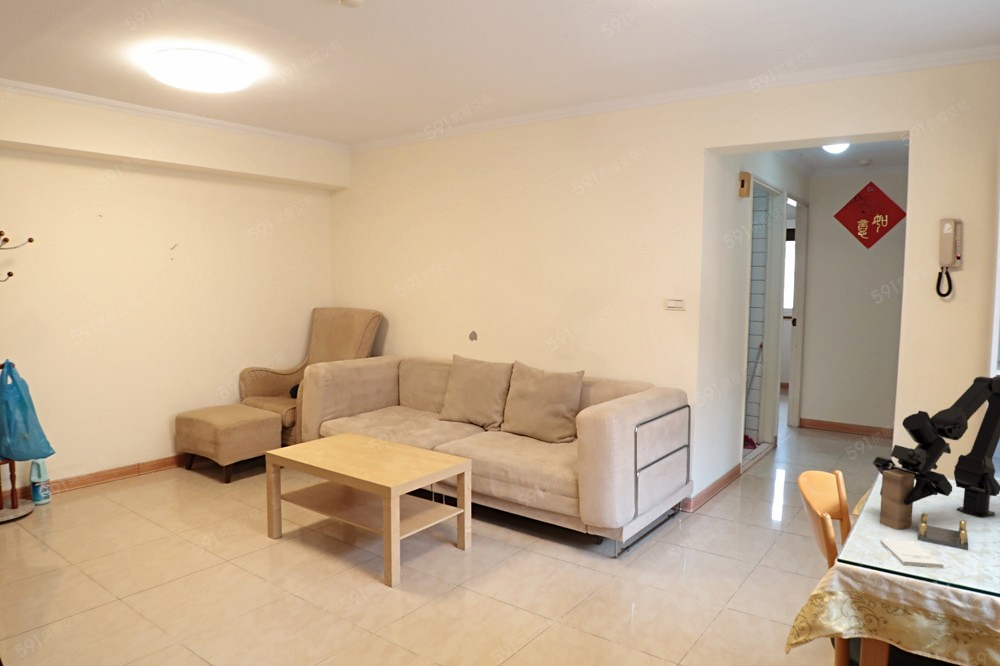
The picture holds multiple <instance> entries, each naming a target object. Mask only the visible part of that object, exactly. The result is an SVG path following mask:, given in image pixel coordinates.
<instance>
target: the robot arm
mask: <svg viewBox="0 0 1000 666" xmlns="http://www.w3.org/2000/svg"><path fill="white" fill-rule="evenodd" d="M986 402H987V408H986V410H985V413H984V416H983V418H982V420H981V423H980V426H979V429H978V431H977V433H976V434H977V435H976V436H975V439H974V442H973V444H972V448H971V449H970V452H968V453H966V454H965V455H964V454H960V455H959V457H957V458H958V459H957V462H956V465H955V466H954V471H953V476H954V483H955V485H956V487H957V488H961V489H964V491H963V493H964V494H963V501H962V502H963V503H962V506H960V507H957V508H956V510H957V511H959V512H963V513H966V514H969V515H973V516H976V517H979V518H984V517H989V516H993V515H996V512H995V511H993V510H992V511H991V510H990V502H991V501H990V499H991V497H998V496H997V495H999V494H1000V484H999V482H998V481H997V480H996V478H995V474H996V468H995V465H994V462H993V458H994V454H995V453H996V449H997V447H998V444H999V442H1000V376H994V377H987V376H982V375H981V376H977V377H975V378H974V379H973V382H972V384H971V385H970V386H969V387H968V389H966V390H965V391H964V392H963V394H961V396H960V397H959V398H957V400H956V401H955V402H954V403H953V404H952V405H951V406H950V407H948V408H945V409H941V410H939V411H938V412H937V413H935V414H933V416H931V417H930V415H929V413H928V411H922V410H919V411H918V412H917V413H913V414H909V415H908V416H906V417H905V418H904V419H903V420H902V426H903V428H904V429H905V431H906V432H907V434H908V435H909V436H910V438H911V439H912V440H913V442H914V443H916V446H915V448H908V447H905V446H901V445H898V444H894V446H893V449H892V451H891V453H890V456H891V458H892V457H893V458H895V459H897V463H898V464H899V465H901V466H897V465H896V463H895V462H894V461H893V460H892V459H891V458H887V457H883V456H876V457H875V459H874V460H873V462H872V465H874V467H875V468H876V470H877V471H878V472H879V473H880V475H881V476H883V471H886V470H894V469H898V470H901V471H904V472H908V473H911V474H914V475H915V478H914V481H915V483H914V487H913V489H912V490H911V492H910V493H909V494H908V496H907V497H906V499H905V501H904V504H905V505H909V504H911V503H913V504H914V503H915V502H918V501H920V500H922V499H925V498H928V497H931V496H937V495H938V494H939V495H943V496H946V497H949V496H950V494H951V493H952V492H953V485H952V484H951V483H950V481H949V480H948V478H947V477H946V476H945V474H942V473H939V472H935V471H932V470H937V468H938V466H939V465H937V463H938V461H939V459H940V458H941V457H942V456H943V454H944V453H945V454H949V455H950V454H951V453H952V450H951V447H950V443H949V442H946V440H952V441H959V440H960V439H961V438H962V437H963V436H964V434H966V431H967V430H968V429H969V425H968V424H969V422H968V421H969V420H970V419H971V417H972V416H973V415H974V414H975V413H976V412H977V411H978V410H979V409H980V408H981V407H982V406H983V405H984V404H985V403H986ZM945 439H946V440H945ZM881 493H882V486H881V488H880V493H879V495H880V496H881Z"/></svg>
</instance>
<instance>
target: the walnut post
mask: <svg viewBox="0 0 1000 666" xmlns="http://www.w3.org/2000/svg"><path fill="white" fill-rule="evenodd" d="M881 476H882V479H881V480H882V482H881V487H882V493H881V495H880V511H879V512H880V513H879V524H882V525H884V526H885V527H889V528H892V529H894V530H897V531H899V530H905V529H910V528H912V520H913V508H914V507H913V505H914V502H913V503H911V504H909V505H905V504H904V501H905V499H906V497H907V496H908V494H909V493H910V492H911V490H912V489H913V487H914V486H915V479H914V478H915V475H914V474H911V473H908V472H904V471H901V470H898V469H894V470H886V471H883V475H881Z"/></svg>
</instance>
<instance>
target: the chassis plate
mask: <svg viewBox="0 0 1000 666" xmlns="http://www.w3.org/2000/svg"><path fill="white" fill-rule="evenodd" d="M928 516H929V515H928V514H927V513H921V514H920V523H919V524H918V531H917V539H916V540H917V541H921V542H925V543H927V542H928V543H931V542H932V544H936V545H941V546H947V547H951V548H957V549H961V550H965V551H968V550H969V540H968V531H967V521H966V520H959V523H958V524H959V525H958V530H955V529H948V528H943V527H938V526H934V525H928V521H929V520H928Z"/></svg>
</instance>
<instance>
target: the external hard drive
mask: <svg viewBox="0 0 1000 666" xmlns="http://www.w3.org/2000/svg"><path fill="white" fill-rule="evenodd" d="M879 541H880V542H879V544H880V543H881V544H882V545H883V546H884V547H883V546H882V545H881V544H880V545H881V546H882V547H883V548H884V549H886V550H887V549H888V550H889V551H890V552H891V553H892V554H893V555H894V556H895V557H896V558H897V559H898V560H899V561H900V562H901V563H900V562H899V561H898V560H897V559H896V558H895V557H894V556H893V555H892V554H891V553H890V552H889V551H888V550H887V551H888V552H889V553H890V554H891V555H892V556H893V557H894V558H895V559H896V560H897V561H898V562H899V563H900V564H902V565H903V566H907V565H914V566H913V567H919V566H920V567H924V566H926V567H925V568H932V567H940V568H939V569H944V564H943V563H942V562H940V561H939V560H938V559H937V558H936V557H935V556H934V555H932V554H931V553H930V552H929V551H928V550H927V549H926V548H924V547H923V546H922V545H920V544H919V543H918V542H917V541H912V540H911V541H910V540H908V541H907V540H898V539H885V538H884V539H880V540H879ZM927 566H928V567H927Z"/></svg>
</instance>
